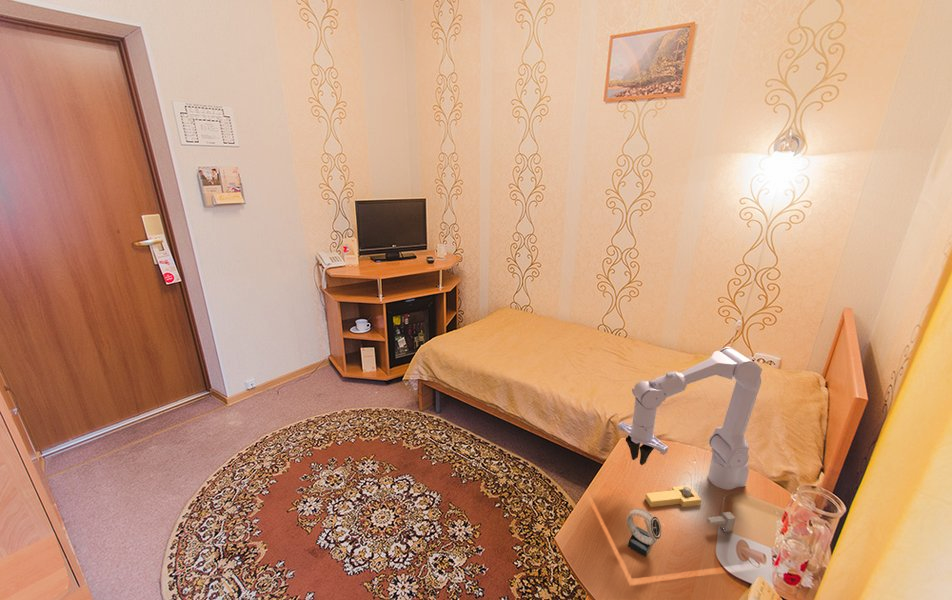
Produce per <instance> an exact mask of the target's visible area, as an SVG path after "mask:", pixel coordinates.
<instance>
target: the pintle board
mask: <svg viewBox="0 0 952 600" xmlns="http://www.w3.org/2000/svg"><path fill="white" fill-rule="evenodd" d="M682 495H683V496H684V497H685V498H688V497H690V495H691V489H690V488H689V487H684V488H683V493H682ZM706 521H707V522H708V523H709V525H710V526H715V525H716V526H717V525H719V526H720V525H721V526H722V527H723V528H724V530H725V531H727V532H726V533H728V532H733V530H734V527H735V522H736V516H734V515H733V513H732V512H731V511H726V512H722V515H717V516H709V517H707V519H706ZM721 526H720V527H721ZM722 527H721V528H722ZM724 530H723V531H724ZM725 531H724V532H725Z"/></svg>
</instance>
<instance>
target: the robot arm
mask: <svg viewBox="0 0 952 600" xmlns="http://www.w3.org/2000/svg"><path fill="white" fill-rule="evenodd" d="M762 371H763V368H762V367H761V366H760V365H759V364H758V363H757V362H755V361H753V360H751V359H750V358H748V357H746V356H745V355H743V354H742V353H740V352H739V351H737V350H736V349H735V348H733V347H731V346H726V347H723V348H720V349H719V350H716V351H713V353H712V354H711V356H710V357H709V358H707V359H705V360H703V361H701V362H699V363H697V364H696V365H693V366H691V367H689V368H687V369H685V370H684V371H682V372H679V371H674V370H673V371H668V372H666V373H665V374H663V375H661V376H659V377H656V378H654V379H651V380H649V381H648V380H641V381H639V382H637V383H636V384H635V385H634V386H633V387H634V388H632V389H631V391H632V395H634V407H633V414H632V415H633V416H632V424H628V423H625V422H624V421H621V422H619V423H617V430H618V431H620V432H622V431H623V432H625V433H626V434H627V435H628V436H627V437H626V438H625V442H626V444H627V446H628V447H629V452H630V455H631V456H630V457H631V460H632V461H635V460H636V459H638V458H639V456H640V459H639V465H641V466H643V465H645V464H646V462H647V461H648V458H649V456H650V454H651V453H652V452H653V451H654V450H657V451H659V454H661V455H662V456H664V455H666V454H667V453H668V449H669V446H667V445H666V444H665V443H663V442H662V441H661V440H660V439H659V438H657V436H655V435H654V429H655V424H656V417H657V416H656V415H657V409H658V407H660V406H661V405H662V403H663V402H665V401H666V400H667V398H670V397H672V396H675V395H677V394H680V393H682V392H685V390H686V388H687V386H688V385H690V384H693V383H696V382H699V381H701V380H705V379H708V378H711V377H713V376H718V377H722V378H724V379H728V380H733V379H734V381H735V385H734V387H733V390H732V395H731V397H730V400H729V404H728V407H727V410H726V414H725V416H724V421H723V423H722V426H720V427H719V426H717V427H715V429H714V432H713V433H712V434H711V436H710V437H709V438H708V445H709V447H711V453H712V454H711V459H710V462H709V463H710V464H709V468H708V469H709V470H708V474H707V478H708V480H709V482H710V483H711V484H712V485H714V486H715V487H716V488H719V489H722V490H727V491H730V490H734V489H736V488H742V487H746V485H747V481H748V477H749V470H750V469H749V466H748V463H749V460H750V456H749V450H750V447H749V444H748V441H747V440H746V437H745V433H746V431H747V427H748V425H749V421H750V419H751V417H752V416H751V415H752V413H753V409H754V407H755V403H756V400H757V397H758V394H759V390H760V388H761V385H762V377H761V375H762ZM639 453H640V454H639Z"/></svg>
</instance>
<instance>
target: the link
mask: <svg viewBox="0 0 952 600" xmlns="http://www.w3.org/2000/svg"><path fill="white" fill-rule="evenodd" d="M684 487H689V488H690V489H691V495H690V497H688V498H685V497H684V496H683V495H682V493H683V488H684ZM644 499H645V501H646V502H647V503H648V506H649V507H650V508H657V507H663V506H672V505H674V506H675V505H681V507H682V508H688V507H696V506H701V503H702V498H701V497H700V496H699V495H698V494H697V493H696V491H695V490H694V488H693V487H692V486H691V485H690V484H688V485H686V484H685V485H679V486H672V487H671V490H665V491H654V492H646V493H645V498H644Z"/></svg>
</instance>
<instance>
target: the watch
mask: <svg viewBox="0 0 952 600" xmlns="http://www.w3.org/2000/svg"><path fill="white" fill-rule="evenodd" d="M633 516H639V517H640V518H642V519H644V524H645V527H646V530H645V529H644V528H641V527H639V526H638V525H636V523H635V521H634V518H633ZM626 525H627V528H628V530H629V532H630V533H631V536H630V538H629V540H628V543H627V544H628V545H627V547H628V548H629V549H631V550H633V551H634V552H636V553H638V554H639V555H641V556H643V557H647V555H648V553H649V551H650V549H651V547H652V545H655V544H656V543H657V541H658V540H659V539H660V538H661V536H662V525H661V522H660V520H659V518H658V517H657V516H655V515H654V514H653V513H651V512H649V511H647V510H645V509H642V508H637V507H636V508H633V509H631V510H630V512H629V513H628V514H627V516H626Z"/></svg>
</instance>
